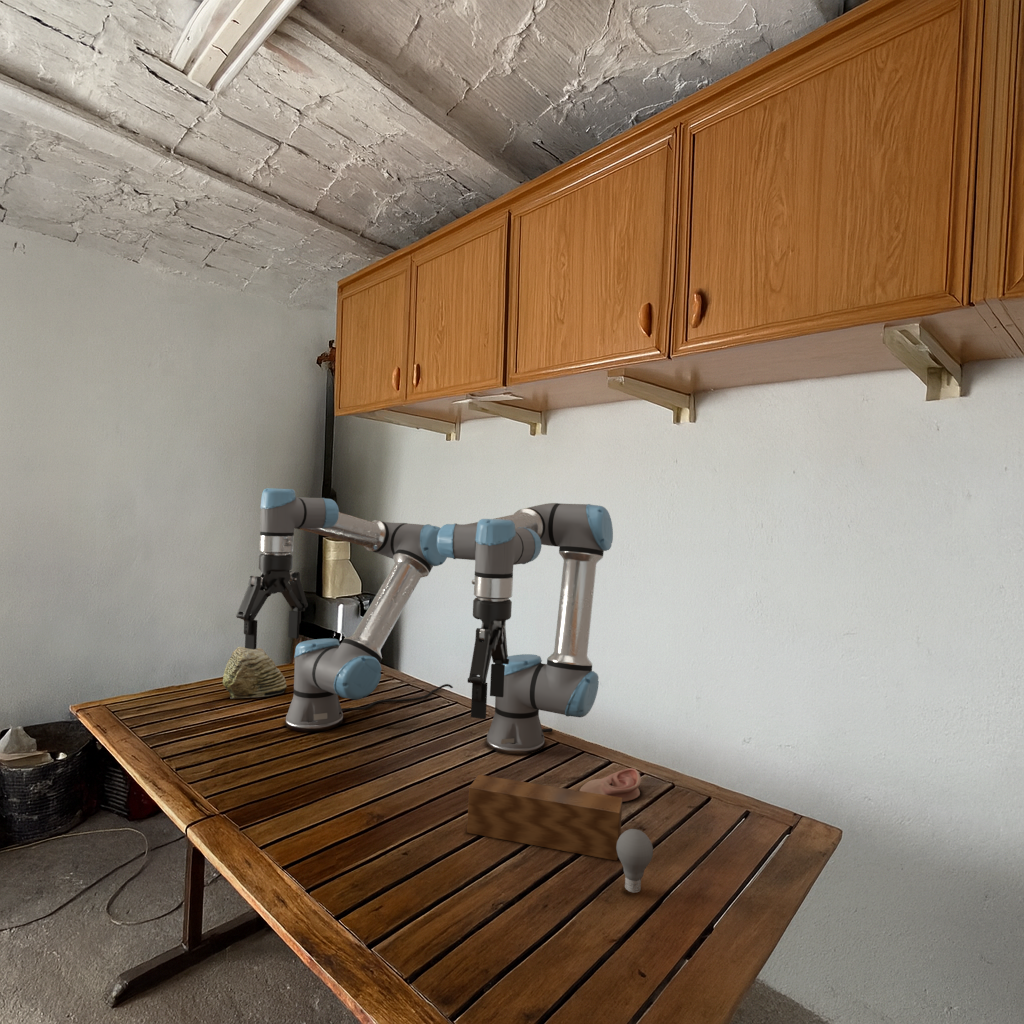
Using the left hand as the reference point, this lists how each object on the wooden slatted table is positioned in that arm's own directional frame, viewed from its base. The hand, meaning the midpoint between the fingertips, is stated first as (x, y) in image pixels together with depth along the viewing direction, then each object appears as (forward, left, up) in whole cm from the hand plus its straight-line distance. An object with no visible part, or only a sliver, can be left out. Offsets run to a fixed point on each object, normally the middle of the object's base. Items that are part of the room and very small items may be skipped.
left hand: (272, 643), depth 150 cm
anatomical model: (-43, +68, -28) cm, 85 cm away
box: (-17, +68, -28) cm, 76 cm away
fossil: (-23, -47, -28) cm, 60 cm away
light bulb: (-14, +89, -28) cm, 94 cm away
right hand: (-12, +57, -4) cm, 59 cm away
